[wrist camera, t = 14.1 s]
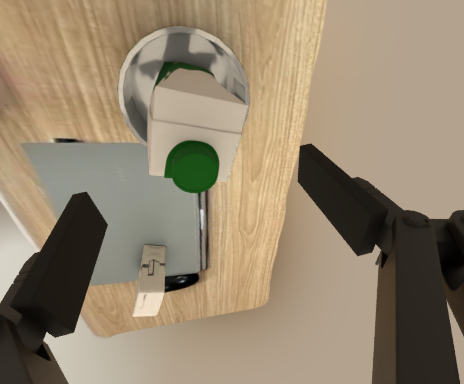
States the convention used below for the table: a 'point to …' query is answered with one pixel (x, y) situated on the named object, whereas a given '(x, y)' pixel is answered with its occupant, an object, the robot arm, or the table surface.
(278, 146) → the table surface
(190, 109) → the soya milk
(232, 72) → the steel tub
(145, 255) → the ink box
